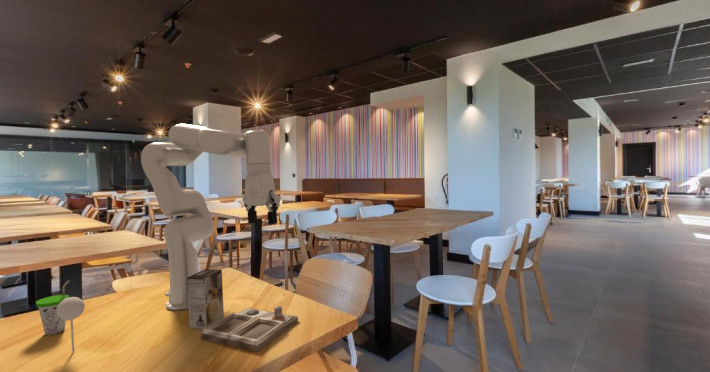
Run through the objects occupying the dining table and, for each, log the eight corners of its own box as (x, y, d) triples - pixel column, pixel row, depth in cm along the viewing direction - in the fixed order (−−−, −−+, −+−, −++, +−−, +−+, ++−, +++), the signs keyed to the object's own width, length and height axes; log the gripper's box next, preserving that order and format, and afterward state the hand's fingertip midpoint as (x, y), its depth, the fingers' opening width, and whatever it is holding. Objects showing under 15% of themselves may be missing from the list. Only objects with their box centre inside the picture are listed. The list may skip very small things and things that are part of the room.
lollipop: (70, 346, 96) (67, 294, 95) (92, 345, 96) (89, 293, 96) (52, 359, 90) (49, 302, 89) (76, 357, 90) (73, 301, 90)
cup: (33, 340, 100) (30, 290, 99) (42, 329, 107) (39, 282, 106) (67, 334, 103) (64, 285, 103) (74, 324, 110) (71, 278, 110)
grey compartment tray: (200, 339, 99) (200, 322, 99) (247, 312, 117) (247, 297, 117) (256, 352, 91) (256, 333, 91) (297, 321, 110) (297, 305, 109)
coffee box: (207, 315, 115) (205, 268, 114) (224, 317, 114) (222, 269, 113) (188, 328, 106) (186, 276, 106) (207, 329, 105) (205, 277, 104)
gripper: (232, 171, 111) (235, 224, 112) (267, 168, 101) (271, 226, 102) (251, 171, 117) (254, 221, 118) (286, 168, 107) (290, 222, 108)
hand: (262, 223), depth 110 cm, fingers open, 9 cm apart
